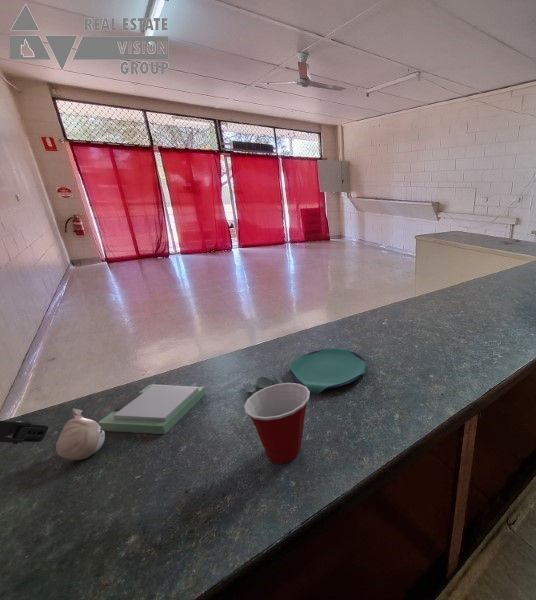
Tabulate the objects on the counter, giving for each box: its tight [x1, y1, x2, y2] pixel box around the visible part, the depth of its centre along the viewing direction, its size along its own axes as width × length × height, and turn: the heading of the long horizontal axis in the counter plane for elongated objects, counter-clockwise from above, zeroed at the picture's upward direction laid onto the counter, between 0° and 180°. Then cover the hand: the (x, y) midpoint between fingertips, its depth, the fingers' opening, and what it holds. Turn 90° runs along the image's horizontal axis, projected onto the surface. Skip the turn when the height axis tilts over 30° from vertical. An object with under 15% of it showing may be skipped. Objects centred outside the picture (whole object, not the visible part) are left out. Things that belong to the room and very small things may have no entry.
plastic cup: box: [243, 382, 311, 465], centre depth 57 cm, size 11×11×12 cm
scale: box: [97, 384, 207, 435], centre depth 68 cm, size 13×13×3 cm
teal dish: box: [242, 347, 369, 397], centre depth 81 cm, size 20×30×2 cm, turn 130°
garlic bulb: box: [55, 408, 106, 461], centre depth 56 cm, size 7×6×8 cm
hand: (15, 432), depth 46 cm, fingers open, 8 cm apart
